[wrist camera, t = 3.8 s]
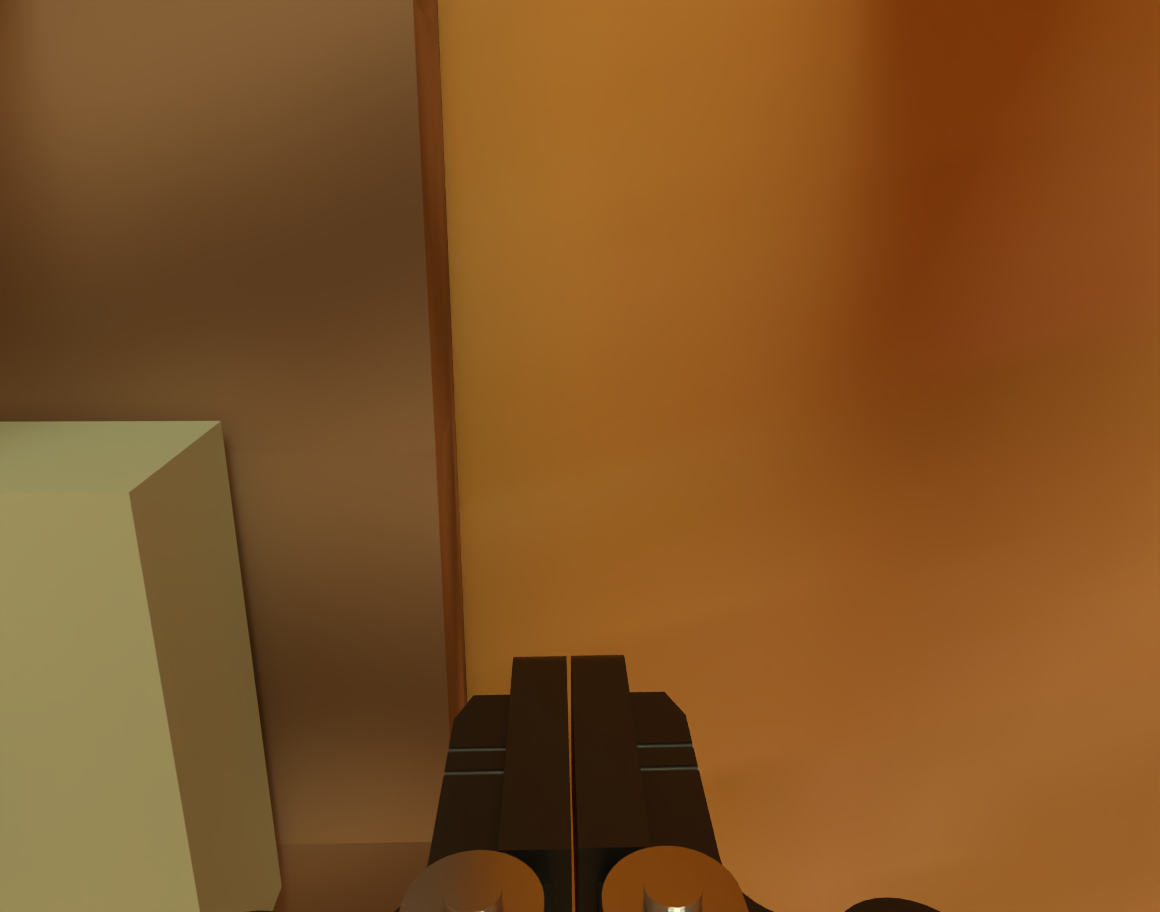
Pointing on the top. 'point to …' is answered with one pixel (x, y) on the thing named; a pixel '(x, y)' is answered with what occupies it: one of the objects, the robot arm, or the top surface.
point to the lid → (126, 676)
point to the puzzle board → (266, 359)
